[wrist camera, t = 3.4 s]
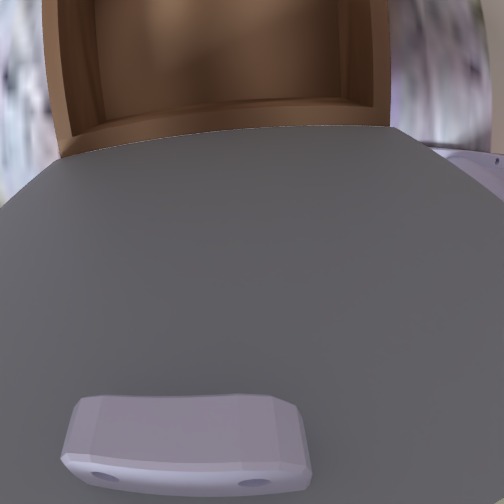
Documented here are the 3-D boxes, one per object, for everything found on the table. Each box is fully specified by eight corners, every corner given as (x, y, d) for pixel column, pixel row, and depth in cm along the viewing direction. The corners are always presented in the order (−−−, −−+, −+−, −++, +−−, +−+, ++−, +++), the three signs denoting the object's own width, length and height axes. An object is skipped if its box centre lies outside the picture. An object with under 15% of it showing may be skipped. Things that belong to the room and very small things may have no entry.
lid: (641, 363, 2) (622, 385, 2) (394, 127, 12) (393, 140, 12) (-136, 413, 1) (-118, 430, 2) (56, 159, 11) (59, 172, 12)
